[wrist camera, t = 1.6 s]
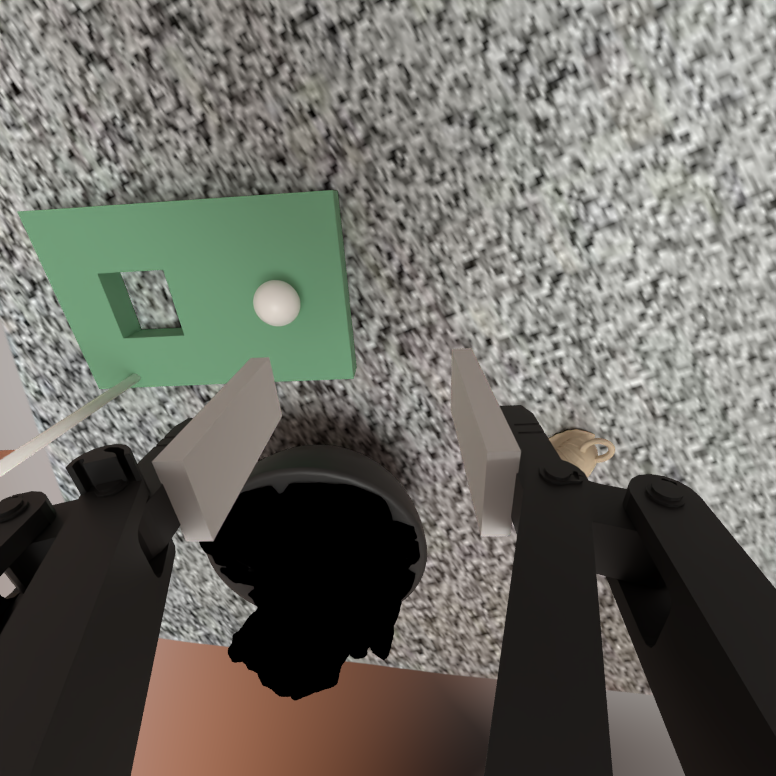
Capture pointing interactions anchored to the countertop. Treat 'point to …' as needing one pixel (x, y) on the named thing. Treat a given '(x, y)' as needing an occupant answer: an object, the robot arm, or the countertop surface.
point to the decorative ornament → (581, 449)
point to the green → (196, 291)
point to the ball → (276, 303)
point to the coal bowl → (317, 564)
